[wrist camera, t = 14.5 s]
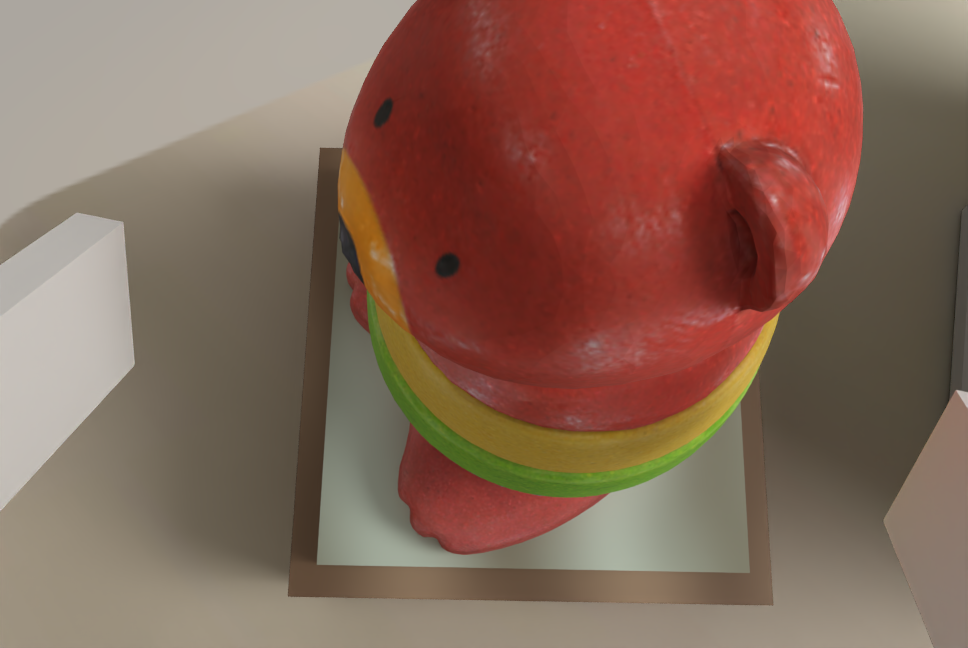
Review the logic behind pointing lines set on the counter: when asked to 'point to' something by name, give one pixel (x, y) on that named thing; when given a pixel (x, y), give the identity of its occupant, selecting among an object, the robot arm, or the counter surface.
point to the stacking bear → (585, 236)
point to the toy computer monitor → (961, 315)
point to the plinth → (521, 567)
